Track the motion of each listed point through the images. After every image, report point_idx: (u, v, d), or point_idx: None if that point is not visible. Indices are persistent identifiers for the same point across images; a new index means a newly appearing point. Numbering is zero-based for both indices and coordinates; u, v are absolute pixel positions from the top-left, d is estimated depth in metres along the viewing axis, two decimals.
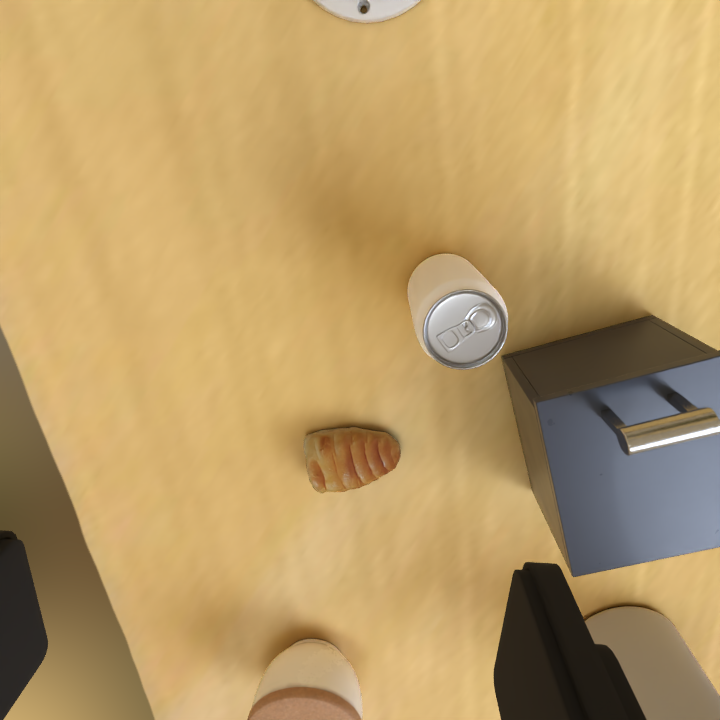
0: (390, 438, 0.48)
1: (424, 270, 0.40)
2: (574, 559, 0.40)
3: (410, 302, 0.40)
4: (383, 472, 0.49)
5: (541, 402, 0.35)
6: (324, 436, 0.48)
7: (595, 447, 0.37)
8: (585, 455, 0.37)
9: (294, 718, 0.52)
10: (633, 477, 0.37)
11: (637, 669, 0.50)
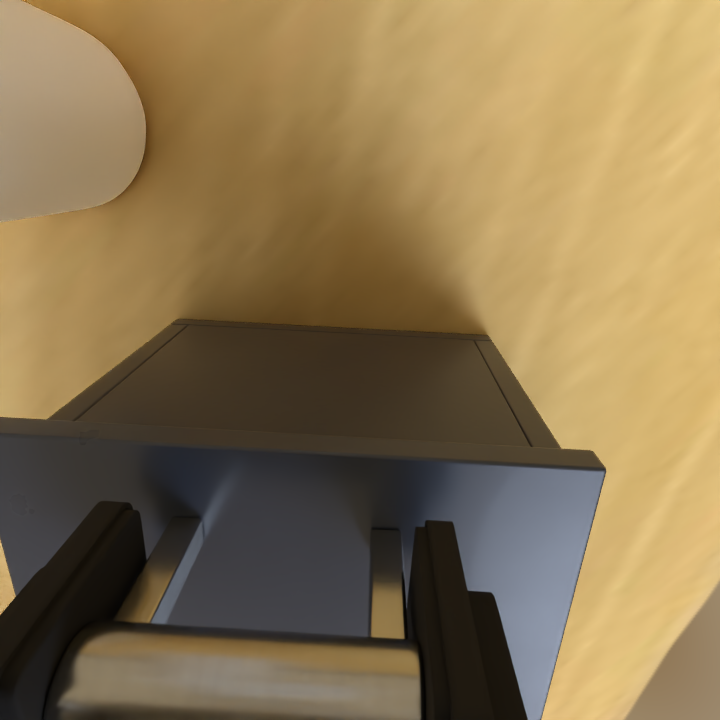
0: None
1: None
2: None
3: None
4: None
5: None
6: None
7: None
8: None
9: None
10: None
11: None
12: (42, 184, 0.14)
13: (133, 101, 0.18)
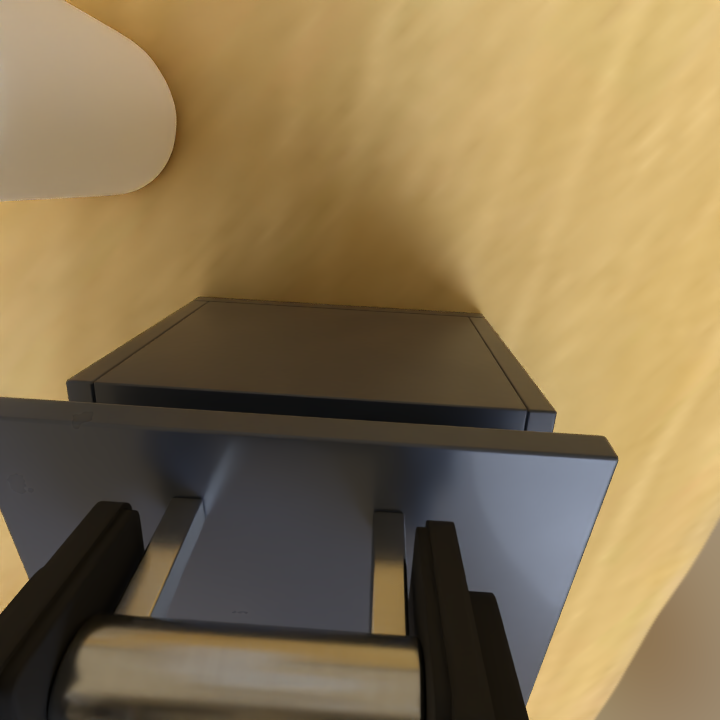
0: None
1: None
2: None
3: None
4: None
5: None
6: None
7: None
8: None
9: None
10: None
11: None
12: (92, 163, 0.16)
13: (167, 98, 0.20)
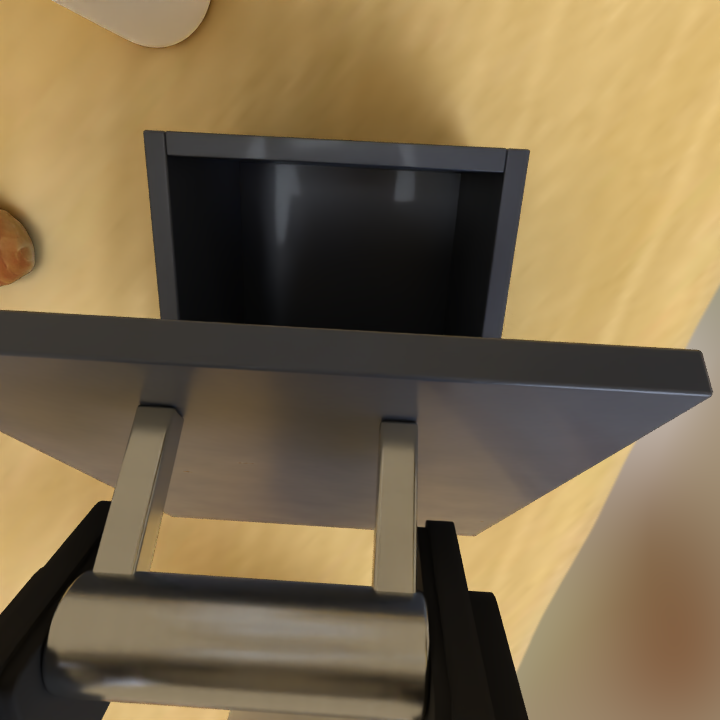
0: (9, 222, 0.28)
1: None
2: (166, 510, 0.21)
3: None
4: None
5: None
6: None
7: None
8: None
9: None
10: (271, 484, 0.15)
11: None
12: None
13: None
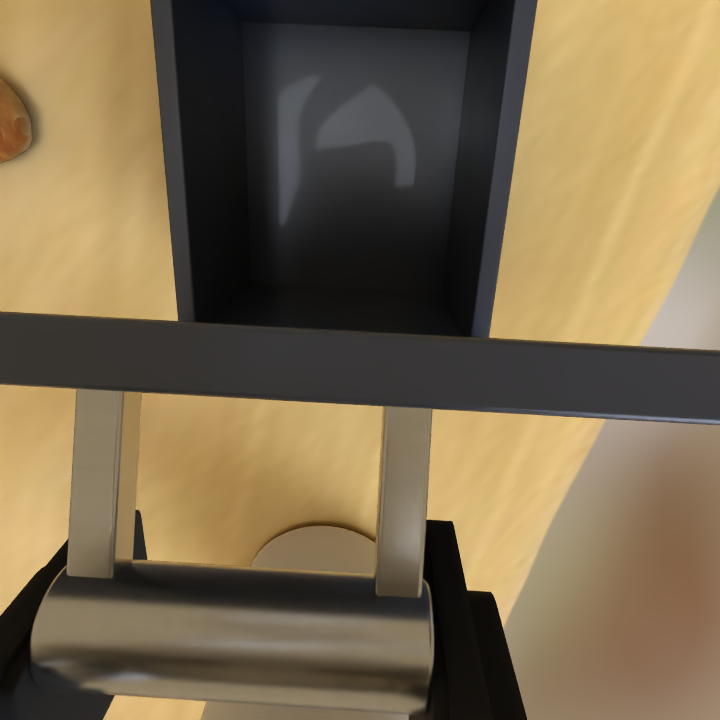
0: (4, 88, 0.27)
1: None
2: None
3: None
4: None
5: None
6: None
7: None
8: None
9: None
10: None
11: None
12: None
13: None
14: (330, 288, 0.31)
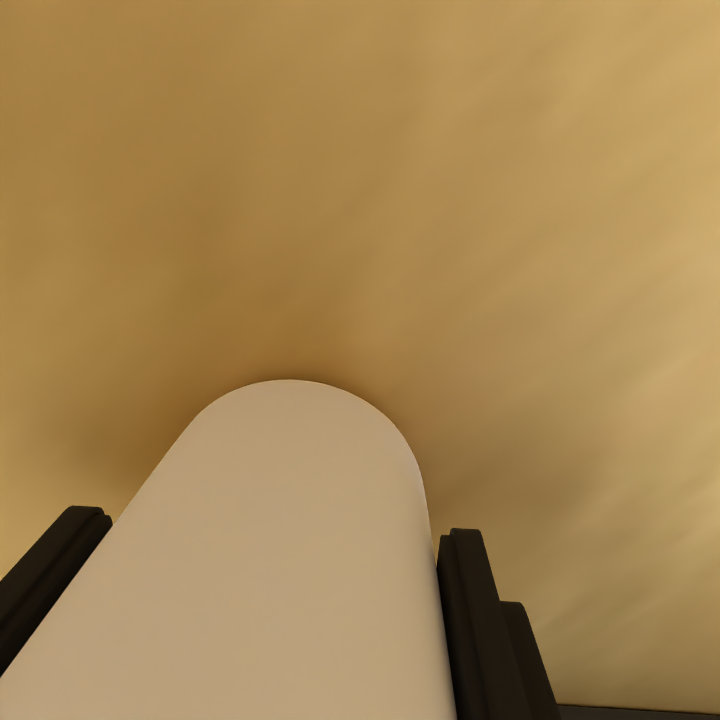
0: None
1: (185, 474, 0.08)
2: None
3: None
4: None
5: None
6: None
7: None
8: None
9: None
10: None
11: None
12: None
13: (425, 498, 0.12)
14: None
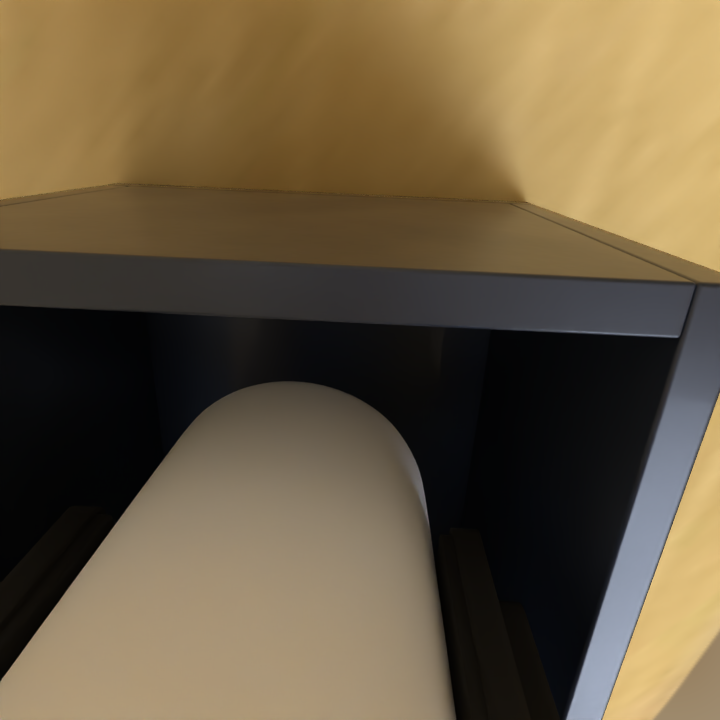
0: None
1: (185, 476, 0.08)
2: None
3: None
4: None
5: None
6: None
7: None
8: None
9: None
10: None
11: None
12: None
13: (425, 499, 0.12)
14: None
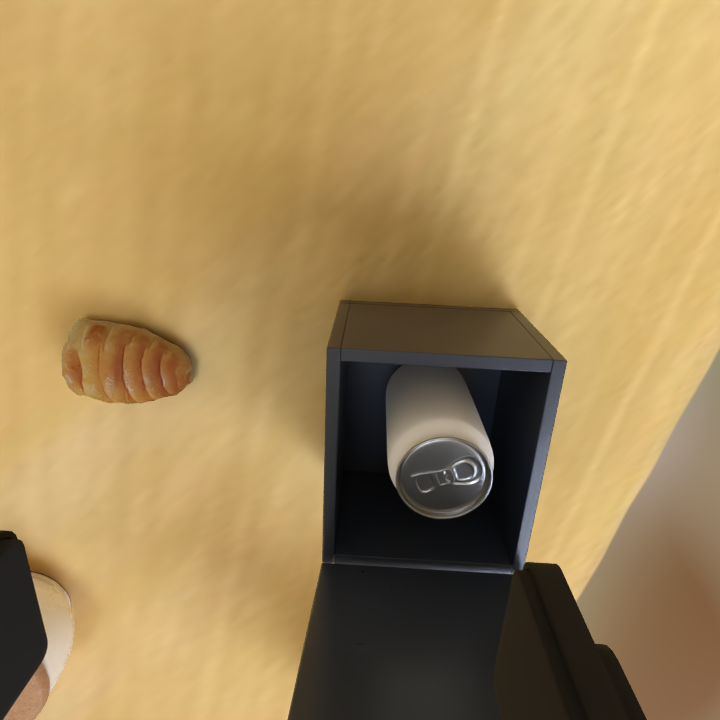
0: (181, 354, 0.39)
1: (413, 378, 0.35)
2: None
3: (389, 410, 0.35)
4: (161, 393, 0.39)
5: None
6: (99, 325, 0.38)
7: None
8: None
9: None
10: None
11: None
12: None
13: None
14: None
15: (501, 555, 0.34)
